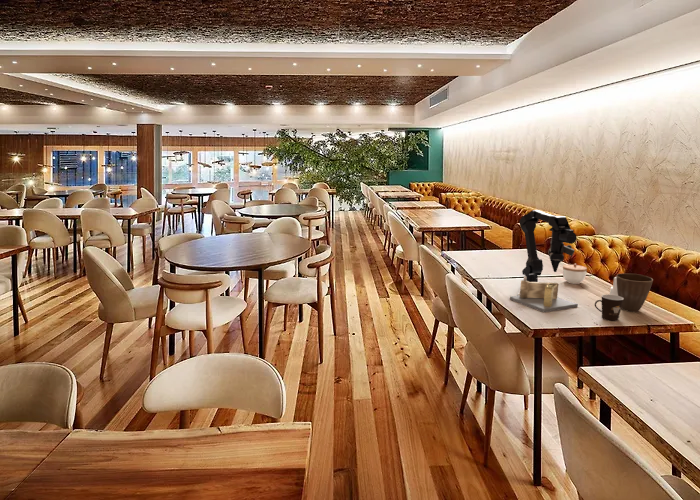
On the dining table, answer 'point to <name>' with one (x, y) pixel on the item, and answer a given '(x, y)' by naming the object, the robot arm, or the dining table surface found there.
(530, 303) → the slate board
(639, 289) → the plant pot
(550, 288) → the brass keeper
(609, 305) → the coffee mug
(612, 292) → the cream cylindrical piece
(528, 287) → the ash link
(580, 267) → the lidded bowl
